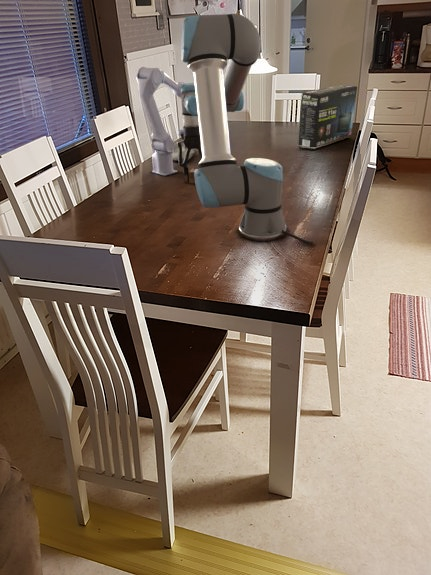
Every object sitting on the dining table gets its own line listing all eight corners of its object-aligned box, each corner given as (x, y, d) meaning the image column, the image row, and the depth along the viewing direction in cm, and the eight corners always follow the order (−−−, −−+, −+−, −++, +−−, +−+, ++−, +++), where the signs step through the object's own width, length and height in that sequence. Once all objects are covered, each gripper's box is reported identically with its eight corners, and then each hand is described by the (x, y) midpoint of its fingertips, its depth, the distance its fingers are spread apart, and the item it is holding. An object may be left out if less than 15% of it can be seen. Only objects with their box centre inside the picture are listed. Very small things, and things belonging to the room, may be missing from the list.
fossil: (184, 156, 217) (163, 136, 220) (174, 174, 223) (154, 154, 227) (205, 153, 231) (186, 134, 234) (195, 171, 237) (176, 152, 240)
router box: (314, 151, 231) (318, 94, 217) (296, 148, 237) (299, 92, 224) (352, 138, 251) (358, 85, 238) (335, 135, 258) (340, 83, 245)
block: (201, 180, 199) (201, 169, 196) (198, 183, 194) (197, 172, 192) (192, 179, 200) (192, 168, 197) (189, 183, 195) (188, 172, 193)
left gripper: (206, 116, 216) (207, 145, 223) (175, 118, 213) (178, 148, 220) (209, 119, 210) (210, 149, 217) (178, 121, 207) (180, 152, 214)
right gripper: (213, 121, 190) (215, 176, 202) (167, 125, 186) (172, 180, 198) (217, 125, 183) (219, 181, 195) (170, 129, 180) (175, 186, 192)
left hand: (194, 149), depth 218 cm, fingers open, 7 cm apart
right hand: (195, 180), depth 197 cm, fingers closed on block, 6 cm apart
